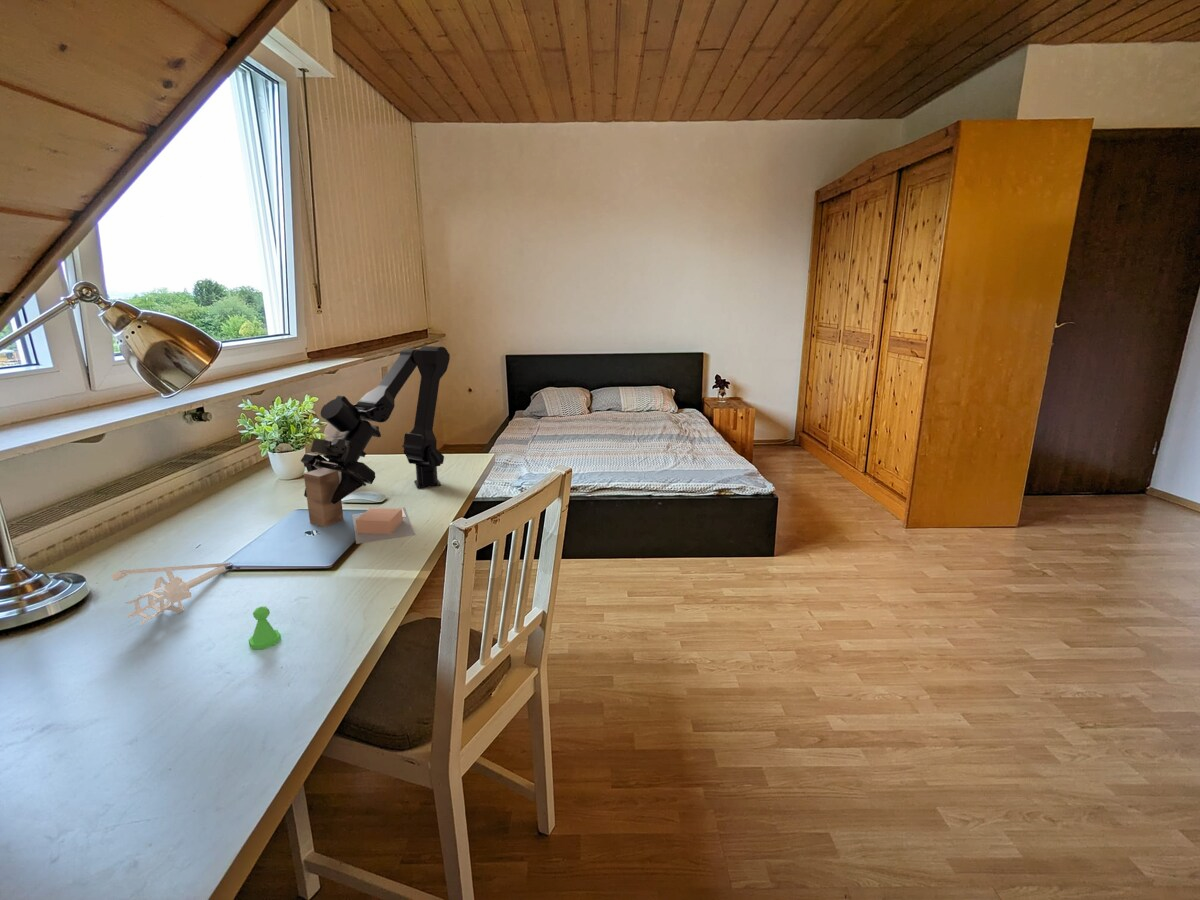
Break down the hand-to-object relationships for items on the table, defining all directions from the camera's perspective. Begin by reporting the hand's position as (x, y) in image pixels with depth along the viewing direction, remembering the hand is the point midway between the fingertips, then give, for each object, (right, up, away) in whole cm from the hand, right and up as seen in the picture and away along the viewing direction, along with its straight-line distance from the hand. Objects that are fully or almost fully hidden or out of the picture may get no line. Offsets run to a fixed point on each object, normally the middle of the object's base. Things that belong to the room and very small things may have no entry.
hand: (319, 499), depth 127 cm
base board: (+14, -7, +2) cm, 16 cm away
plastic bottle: (-10, +2, +33) cm, 35 cm away
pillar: (0, -6, +3) cm, 7 cm away
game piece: (+12, -18, -41) cm, 46 cm away
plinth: (+14, -6, 0) cm, 15 cm away
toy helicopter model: (-8, -15, -29) cm, 34 cm away
